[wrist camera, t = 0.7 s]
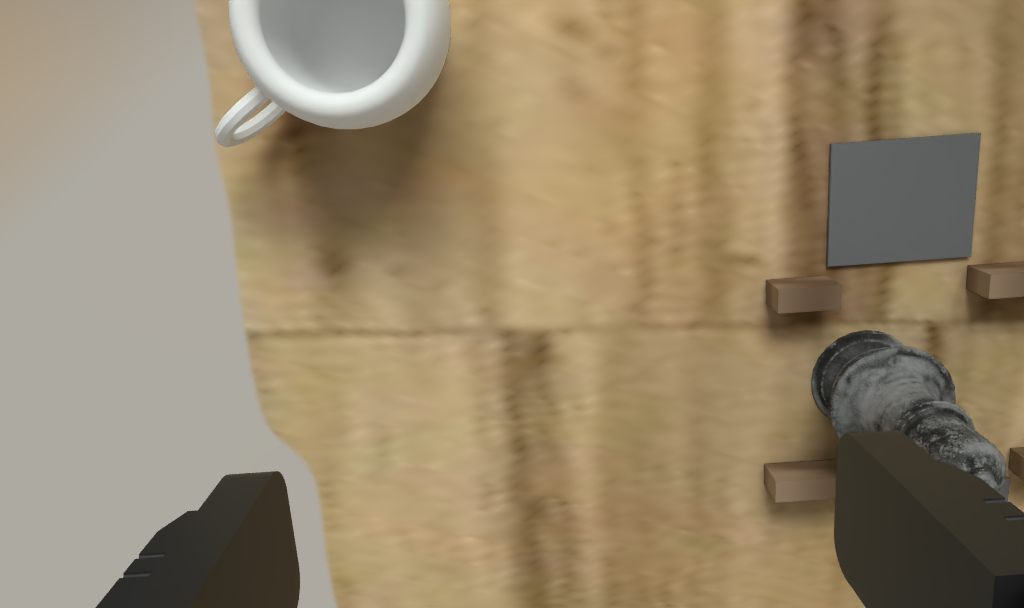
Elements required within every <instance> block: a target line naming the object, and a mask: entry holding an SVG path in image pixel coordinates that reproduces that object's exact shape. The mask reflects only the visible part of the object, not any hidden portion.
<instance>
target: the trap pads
mask: <svg viewBox="0 0 1024 608" xmlns="http://www.w3.org/2000/svg"><path fill="white" fill-rule="evenodd" d="M980 136H981V133H969V134H956V135H943V136H930V137H917V138H904V139H891V140H877V141H864V142H851V143H838V144H830V167H829V200H828V234H827V266H828V267H831V266H845V265H859V264H873V263H887V262H901V261H915V260H929V259H943V258H957V257H971V249H972V237H973V224H974V212H975V199H976V186H977V174H978V161H979V149H980ZM1009 483H1010V478H1008V477H1005V481H1004V484H1003V485H1002V487H1001V489H1000V490H999V491H998V493H1000V494H1001V495H1002V496H1003V497H1005V500H1006V502H1008V493H1009Z"/></svg>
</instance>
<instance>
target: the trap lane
mask: <svg viewBox="0 0 1024 608" xmlns="http://www.w3.org/2000/svg"><path fill="white" fill-rule="evenodd" d="M966 289H968V290H970V291H972V292H974V293H976V294H979V295H981V296H983V297H985V298H987V299H998V298H1012V297H1024V262H1010V263H996V264H982V265H968V271H967V284H966ZM841 292H842V285H840V284H839V283H837V282H836V281H834V280H833V279H831V278H829V277H828V276H813V277H799V278H785V279H770V280H766V303H767V304H768V305H769V306H770V307H771V308H772V309H773V310H774V311H776V312H777V313H778V314H782V313H796V312H811V311H825V310H840V309H841ZM836 462H837V459H832V460H816V461H800V462H784V463H768V464H764V484H765V486H766V488H767V489H768V491H769V493H770V494H771V496H772V498H773V499H774V501H775V503H779V502H795V501H811V500H827V499H835V493H836ZM1009 469H1010V470H1011V471H1012V472H1013V473H1015V474H1016V475H1017V476H1019V477H1020V478H1021V479H1022V480H1024V447H1021V448H1011V449H1010V459H1009Z"/></svg>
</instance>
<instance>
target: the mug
mask: <svg viewBox="0 0 1024 608" xmlns="http://www.w3.org/2000/svg"><path fill="white" fill-rule="evenodd" d="M229 19H230V28H231V32H232V36H233V41H234V44H235V47H236V50H237V52H238V55H239V57H240V60H241V62H242V64H243V65H244V67H245V69H246V71H247V73H248V74H249V76H250V77H251V79H252V80H253V81H254V82H255V84H256V85H257V86H256V87H255V88H253V89H252V90H251V91H250V92H249V93H248V94H246V95H245V96H244V97H243V98H242V99H241V100H239V101H238V102H237V103H236V104H235V105H234V106H233V107H232V108H231V109H230V110H229V111H228V112H227V113H226V114H225V116H224V117H223V118H222V120H221V121H220V123H219V125H218V126H217V128H216V130H215V138H216V141H217V142H218V143H219V144H220V145H222V146H224V147H231V146H235V145H238V144H241V143H243V142H245V141H247V140H249V139H251V138H253V137H254V136H256V135H257V134H259V133H260V132H262V131H263V130H264V129H266V128H267V127H268V126H270V125H271V124H272V123H273V122H275V121H276V120H277V119H278V118H279V117H280V116H281V115H283V114H284V113H285V112H286V111H287V112H289V113H291V114H292V115H294V116H296V117H298V118H300V119H302V120H305V121H308V122H310V123H313V124H316V125H319V126H323V127H328V128H334V129H362V128H368V127H374V126H377V125H380V124H384V123H387V122H389V121H391V120H393V119H395V118H397V117H399V116H401V115H403V114H405V113H406V112H407V111H409V110H410V109H412V108H413V107H414V106H416V105H417V104H418V103H419V102H420V101H421V100H422V99H423V98H424V97H425V96H426V95H427V94H428V92H429V91H430V89H431V88H432V87H433V85H434V84H435V82H436V81H437V79H438V77H439V75H440V73H441V71H442V69H443V67H444V64H445V61H446V57H447V54H448V51H449V45H450V38H451V14H450V8H449V2H448V0H229ZM268 100H271V101H273V102H271V103H270V104H269V105H268V106H267V107H266V108H265V109H263V110H262V111H261V112H260V113H259V114H257V115H256V116H255V117H253V118H252V119H250V120H249V121H247V122H246V123H244V124H243V125H241V124H242V123H243V122H244V121H245V120H246V119H247V118H248V117H250V116H251V115H252V114H253V113H254V112H255V111H257V110H258V109H259V108H260V107H261V106H262V105H263V104H265V103H266V102H267V101H268Z"/></svg>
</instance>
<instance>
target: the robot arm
mask: <svg viewBox="0 0 1024 608" xmlns="http://www.w3.org/2000/svg"><path fill="white" fill-rule="evenodd" d="M834 539H835V548H836V553H837V557H838V561H839V564H840V567H841V570H842V572H843V574H844V576H845V578H846V580H847V581H848V583H849V584H850V586H851V587H852V588H853V590H854V591H855V593H856V594H857V596H858V597H859V598H860V600H861V601H862V603H863V604H864V605H865V607H866V608H1024V513H1023V512H1022V511H1021V510H1020V509H1018V508H1017V507H1016V506H1015V505H1013V504H1012V503H1011V502H1006V500H1005V497H1003V496H1002V495H1001V494H1000V493H998V492H997V491H996V490H995V489H993V488H992V487H991V486H990V485H988V484H987V483H986V482H985V481H983V480H982V479H981V478H979V477H977V476H975V475H973V474H970V473H968V472H966V471H964V470H961V469H959V468H957V467H955V466H952V465H950V464H948V463H946V462H937V461H936V460H935V459H934V458H932V457H931V456H930V455H929V454H928V453H927V452H925V451H924V450H923V449H922V448H921V447H919V446H918V445H917V444H916V443H915V442H914V441H912V440H911V439H910V438H909V437H908V436H906V435H905V434H904V433H903V432H901V431H898V430H894V431H879V432H864V433H850V434H844V435H842V437H841V438H840V440H839V443H838V447H837V462H836V493H835V523H834ZM299 590H300V573H299V563H298V557H297V551H296V545H295V538H294V532H293V526H292V519H291V513H290V506H289V501H288V494H287V488H286V484H285V480H284V478H283V476H282V474H281V473H280V472H278V471H276V472H260V473H245V474H231V475H226V476H224V477H223V478H222V479H221V481H220V482H219V483H218V485H217V486H216V487H215V489H214V490H213V492H212V493H211V494H210V495H209V497H208V498H207V499H206V501H205V502H204V503H203V505H202V506H201V507H200V509H199V510H198V511H187V512H186V513H184V514H183V515H182V516H180V517H179V518H177V519H176V520H174V521H173V522H171V523H170V524H168V525H167V526H165V527H164V528H162V529H161V530H159V531H158V532H157V533H156V534H155V535H154V537H153V538H152V539H151V540H150V542H149V543H148V544H147V545H146V546H145V548H144V549H143V550H142V551H141V553H140V554H139V559H135V560H134V561H133V562H132V564H131V565H130V566H129V567H128V568H127V570H126V571H125V572H124V577H123V578H119V580H118V581H117V582H116V583H115V585H114V586H113V587H112V588H111V589H110V591H109V592H108V593H107V594H106V596H105V597H104V598H103V599H102V601H101V602H100V603H99V604H98V605H97V607H96V608H297V606H298V600H299Z"/></svg>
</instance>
